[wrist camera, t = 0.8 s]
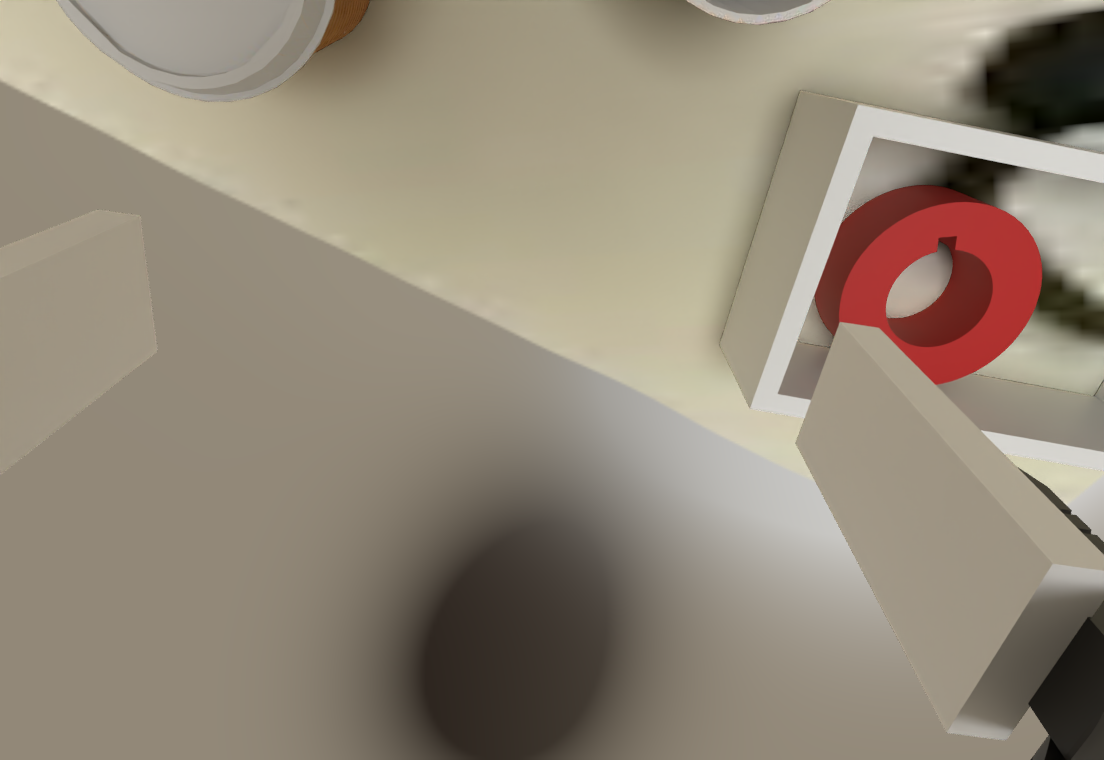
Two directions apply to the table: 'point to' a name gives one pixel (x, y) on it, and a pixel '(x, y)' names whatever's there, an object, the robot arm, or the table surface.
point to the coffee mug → (757, 9)
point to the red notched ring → (971, 295)
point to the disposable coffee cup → (214, 40)
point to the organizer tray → (803, 249)
